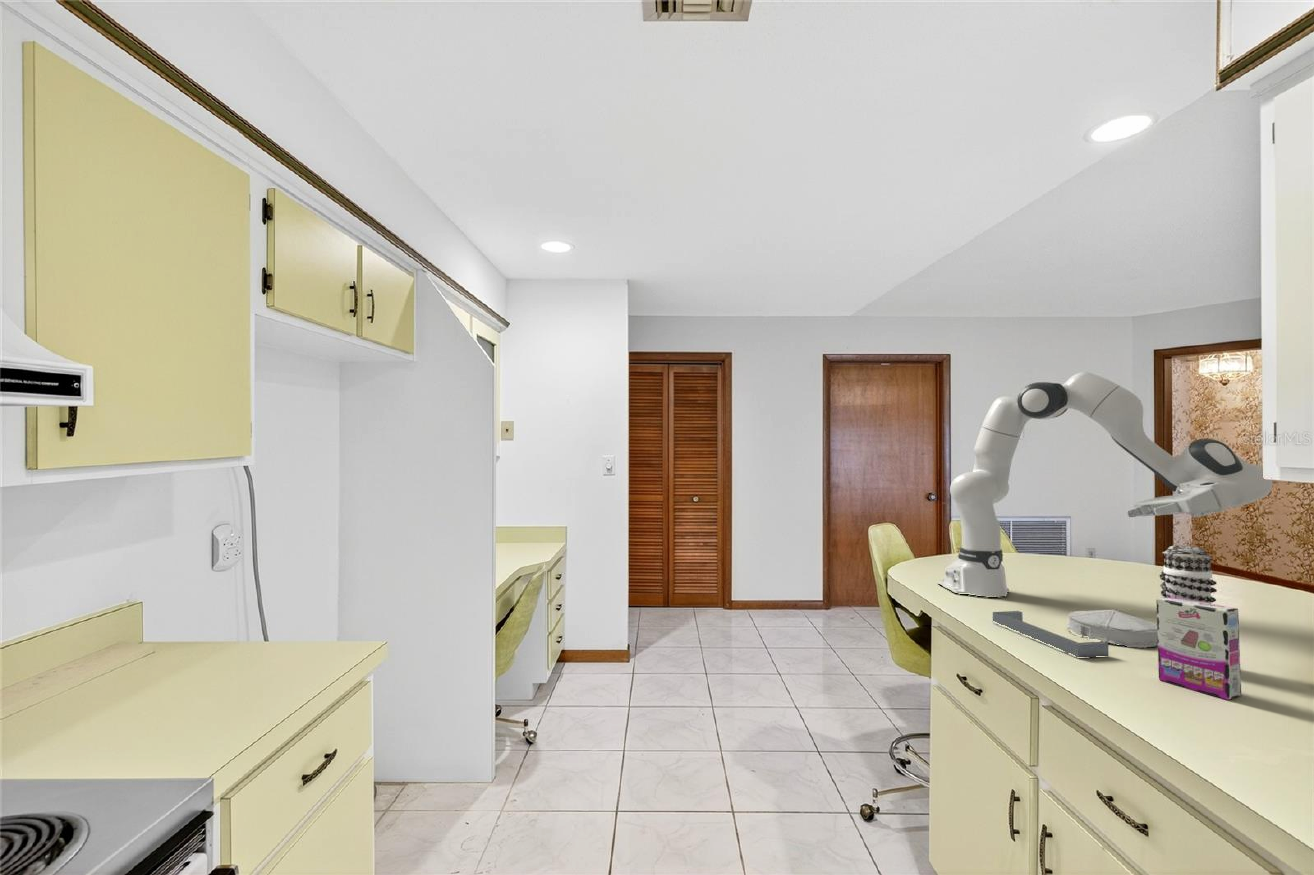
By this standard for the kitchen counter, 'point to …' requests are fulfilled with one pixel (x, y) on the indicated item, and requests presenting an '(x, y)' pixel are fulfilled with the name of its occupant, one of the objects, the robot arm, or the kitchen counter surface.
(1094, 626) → the food container
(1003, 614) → the gray u-shaped pull
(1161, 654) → the candy bar box
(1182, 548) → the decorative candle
